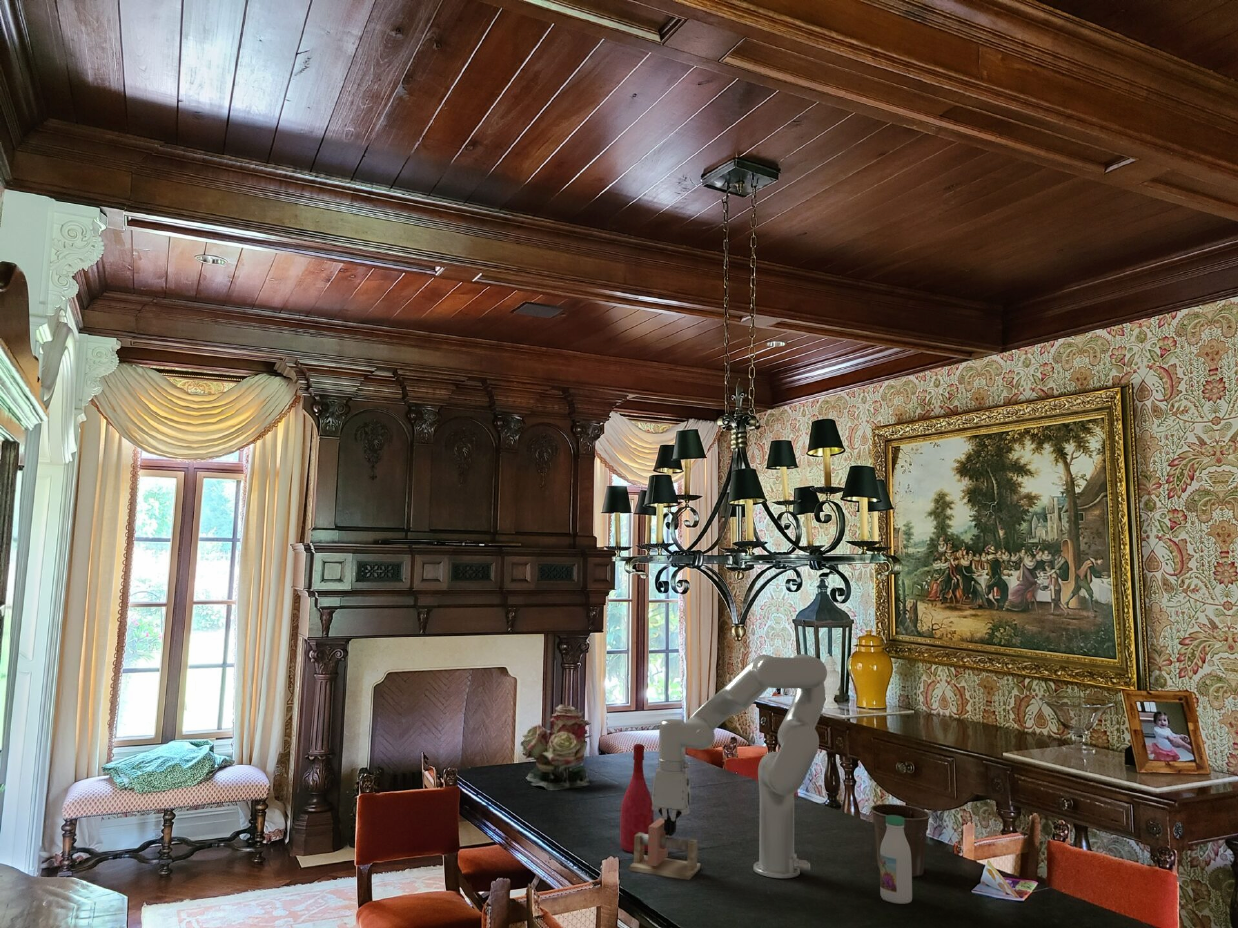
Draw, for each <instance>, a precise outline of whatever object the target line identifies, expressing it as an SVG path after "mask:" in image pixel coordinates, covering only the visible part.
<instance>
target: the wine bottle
mask: <svg viewBox="0 0 1238 928" xmlns="http://www.w3.org/2000/svg"><path fill="white" fill-rule="evenodd" d="M632 759H633V768H632V769H633V771H632V776H631V780H630V781H629V784H628V787H627V789H626V791H625V793H624V796H623V799H622V801H621V807H620V824H619V825H620V827H619V828H620V829H619V833H620V834H619V836H620V839H619V842H620V847H621V849H622V850H624V851H626V852H629V853H632V854H634V837H635V835H636V834H638V833H639V832H642V833H645V834H648V831H649V826H650V825H651V824H652V823H654V822H655V821H654V816H655V813H654V810H652V795H651V793H650V790H649V788H648V786H647V782H646V780H645V775H644V760H645V745H643V744H642V743H636V744H634V745H633V756H632ZM646 852H647V853H648V845H644V853H646Z"/></svg>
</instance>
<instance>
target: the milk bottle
mask: <svg viewBox="0 0 1238 928" xmlns="http://www.w3.org/2000/svg"><path fill="white" fill-rule="evenodd" d="M886 825H887V829H886V833H885V836H884V838H883V840H882V843H881V848H880V869H879V885H880V886H879V887H880V888H879V891H880V896H881V899H882V900H884V901H886V902H889V903H892V904H899V905H900V904H901V905H902V904H903V905H904V904H909V903H911V902H912V900H913V883H912V882H913V877H912V866H911V851H910V847H909V844H908V842H907V839H906V837H905V834H904V829H903V828H904V818H903V817H901V816H897V815H888V816H886Z"/></svg>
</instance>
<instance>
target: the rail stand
mask: <svg viewBox="0 0 1238 928" xmlns="http://www.w3.org/2000/svg"><path fill="white" fill-rule="evenodd" d="M644 845H648V834H645V833H642V832H639V833H638V834H636V835H635V837H634V853H633V862H632V863H631V864H630V865H629V868H628V870H629V871H630V872H636V873H642V874H648V875H649V874H650V875H654V876H655V875H656V876H662V877H668V878H675V879H681V880H688V881H690V880H691V879H692V878H693V877H694V876H695V874H696V873H697V872H698V871H699V870H700V869H701V863H700V862H698V839H682V838H677V837H676V838H675V837H671V836H668V837H662V836H660V847H662V848H668V849H670V850H678V851H684V852H687V859H686V860H681V859H673V858H667V857H666V858H665V859H664V860H663V861H662V862H661V863H660V864H658V865H657V866H651V865H648V854H647V855H646V854H645V852H644Z"/></svg>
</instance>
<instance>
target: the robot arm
mask: <svg viewBox="0 0 1238 928" xmlns="http://www.w3.org/2000/svg"><path fill="white" fill-rule="evenodd" d="M827 676H828V670H827V666H826V664H825V663H824V662H823V661H822V660H821V659H820V658H817V657H816V656H812V655H810V654H809V655H808V654H804V653H801V654H797V655H795V656H793V657H783V656H773V655H770V654H759V655H758V656H756V657H755V658H753V660H751V661H750V662H749V663H748V664H747V665H746V666H745V667H744V668H743V669H742V670H741V671H740V672H739V673H738V674H737V675H736V676H735V677H734V678H733V679H732V680H731V681H730V682H728V683H727V684H726V686H724V687H723V688H722V689H720V690H719V691H718V692H717V693H716V694H715V695H713V696H712V697H711V698H709V699H708V700H707V701H706V702H704V703H703V704H702V705H701V706H700V707H699V708H698V709H697V710H696V711H695V712H694V713H693V714H692V715H690V717H689V718H688V719H687V721H686V722H685V721H684V720H682V719H676V718H675V719H674V718H668V719H663V720H661V721H660V722H659V728H658V729H659V733H658V734H659V735H658V763H657V764H658V767H657V768H656V770H655V774H654V778H653V785H652V793H651V799H652V810H654V811H655V812H657V813H659V814H660V816H661V818H663V819H664V831H666V833H665V835H667V836H668V837H672V836H674V835H675V833H676V831H677V819H678V818H680V816H686V815H689V814H690V812H691V811H690V805H691V784H690V776H689V770H686V769H690V768H691V763H690V762H687V759H686V756H687V755H686V754H687V753H686V752H687V749H686V748H688V749H694V750H708V749H709V748H710V747H711V746H712V745H713V744H714V742H715V738H716V736H715V730H716V729H717V728H718V727H719V726H720V725H722V723H724V722H725V721H726V720H728V719H729V718H731V717H732V716H736V715H739V714H742V713H743V712H745V711H747V710H748V709H749V708H750V707H751V706H752V705H753V704H754V703H755V701H757V700H758V699H759V698H760V697H761V696H762V695H763V694H764V693H765V692H766V691H767V690H768V689H795V691H794V696H793V699H792V702H791V704H790V706H789V708H788V711H787V713H786V714H785V717H784V718H783V720H782V723H781V724H780V726H779V729H778V730H777V740H778V743H779V745H780V747H779V750H778V751H771V752H768V753H766V754H764V755H763V756H762V758H761V759H760V761H759V763H758V769H757V777H758V778H757V779H758V789H759V790H758V791H759V825H758V826H759V829H758V830H759V834H758V835H759V839H758V840H759V844H758V845H759V849H758V852H759V853H758V855H759V856H758V857H759V858H758V859H759V860H757V861H756V862H754V864H753V871H754V872H755V873H757V874H758V875H761V876H764V877H768V878H772V879H792V878H795V877H798V876H799V875H800V873H801V871H800V870H805V871H810V870H811V863H810V862H808V860H804V859H799V858H797V855H798V854H797V853H795V796H794V794H795V793H797V792H798V790H799V789H800V788H801V787H802V785H803V783H804V781H805V779H806V777H807V776H808V773H809V770H810V768H811V767H812V764H813V762H814V760H815V759H816V756H817V754H818V751H819V745H820V738H819V733H818V732H817V730H816V726H817V724H818V722H819V719H820V717H821V715H822V711H823V709H824V706H825V702H826V687H825V682H826V680H827ZM670 810H672V811H671V814H670ZM670 815H671V816H670Z"/></svg>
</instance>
